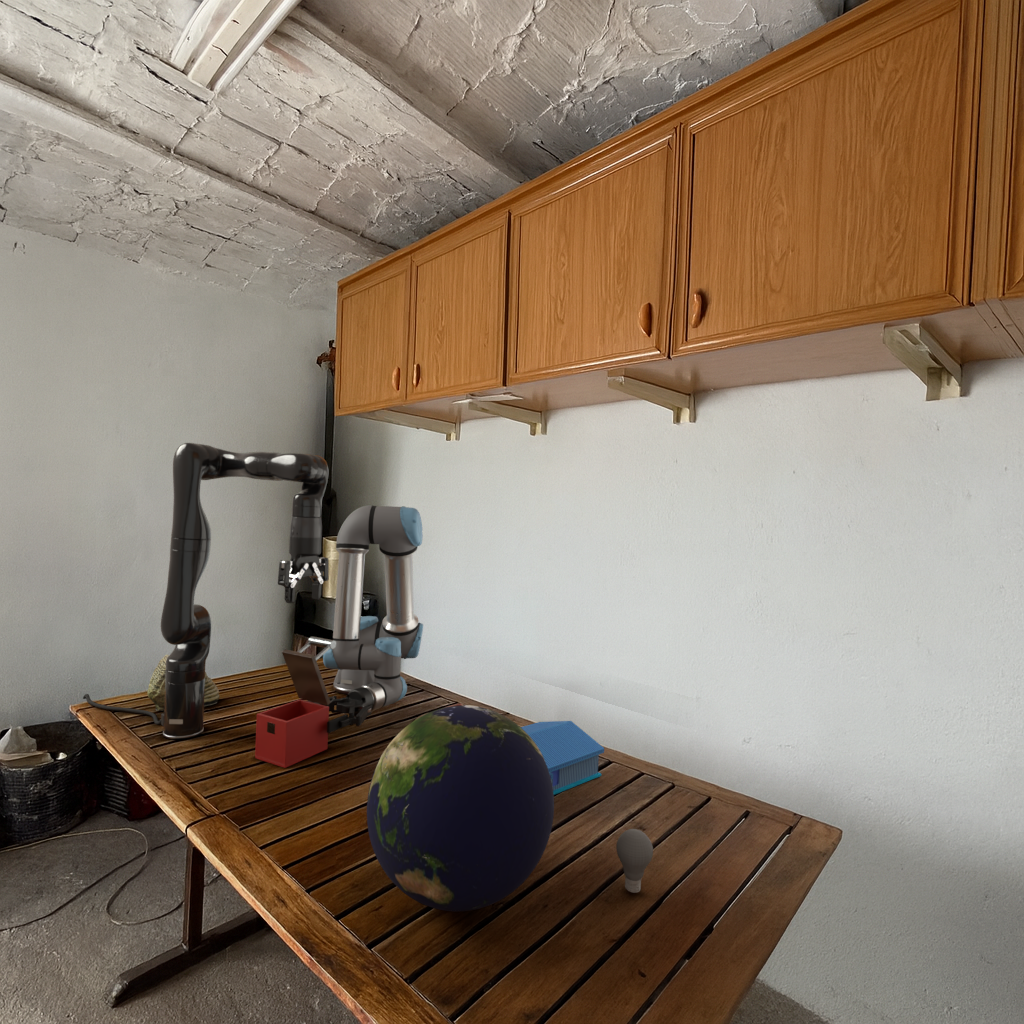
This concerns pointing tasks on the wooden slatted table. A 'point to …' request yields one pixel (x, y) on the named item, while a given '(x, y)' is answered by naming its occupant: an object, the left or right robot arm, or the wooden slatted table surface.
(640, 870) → the light bulb
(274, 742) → the chest
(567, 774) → the model building
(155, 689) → the fossil
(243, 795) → the wooden slatted table surface
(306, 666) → the lid
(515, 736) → the globe
